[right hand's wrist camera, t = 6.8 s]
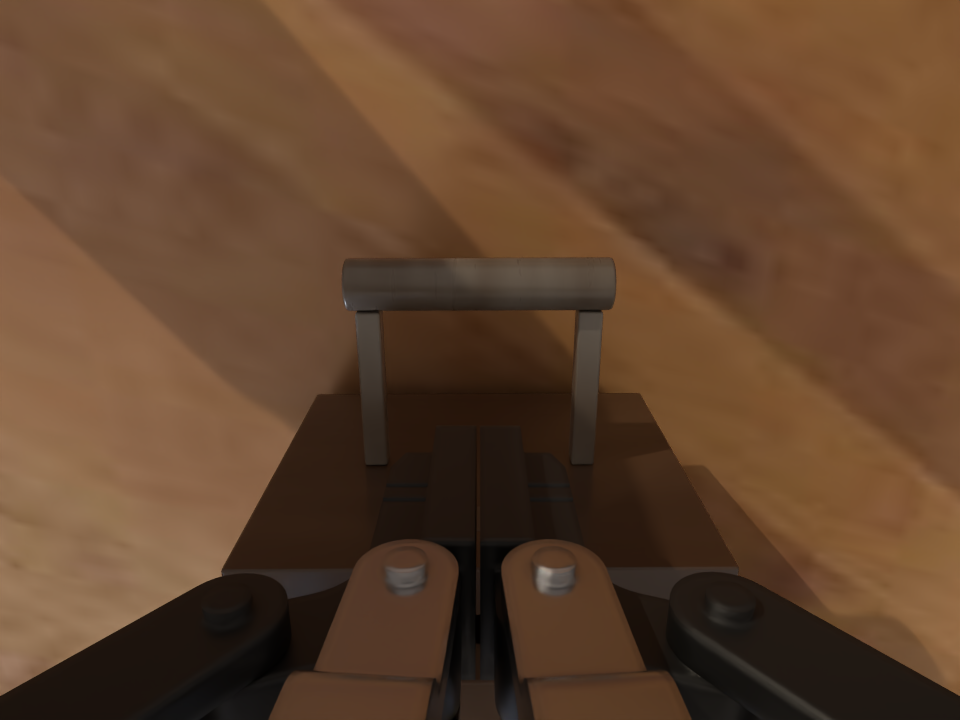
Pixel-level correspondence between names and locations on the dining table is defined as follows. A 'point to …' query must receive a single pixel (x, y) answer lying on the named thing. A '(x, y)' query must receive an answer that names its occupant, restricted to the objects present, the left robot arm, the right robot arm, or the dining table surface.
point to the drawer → (544, 428)
